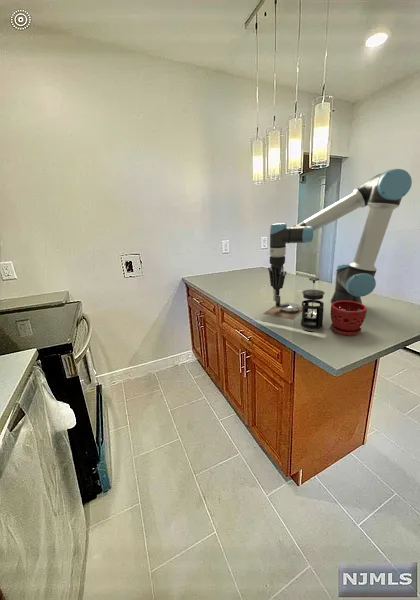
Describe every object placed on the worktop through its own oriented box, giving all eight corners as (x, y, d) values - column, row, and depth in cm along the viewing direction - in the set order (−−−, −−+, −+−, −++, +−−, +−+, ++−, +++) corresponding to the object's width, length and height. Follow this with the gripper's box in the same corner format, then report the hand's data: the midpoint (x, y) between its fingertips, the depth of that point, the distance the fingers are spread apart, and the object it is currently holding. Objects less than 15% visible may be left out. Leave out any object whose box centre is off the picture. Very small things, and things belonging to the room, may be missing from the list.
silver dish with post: (294, 305, 137) (295, 291, 134) (303, 311, 127) (303, 296, 125) (272, 307, 136) (272, 293, 133) (279, 314, 126) (279, 299, 124)
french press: (295, 324, 117) (297, 277, 110) (313, 321, 118) (316, 274, 111) (310, 335, 106) (313, 283, 99) (329, 331, 107) (334, 280, 100)
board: (306, 310, 133) (306, 307, 133) (292, 322, 119) (293, 319, 119) (278, 305, 143) (278, 303, 142) (262, 316, 129) (262, 313, 129)
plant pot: (323, 331, 108) (325, 305, 105) (338, 322, 116) (340, 298, 112) (354, 341, 98) (358, 313, 95) (368, 331, 106) (372, 304, 102)
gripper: (264, 254, 127) (263, 298, 135) (278, 258, 116) (277, 305, 124) (276, 253, 130) (275, 295, 138) (291, 256, 118) (289, 302, 126)
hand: (276, 300), depth 131 cm, fingers closed
